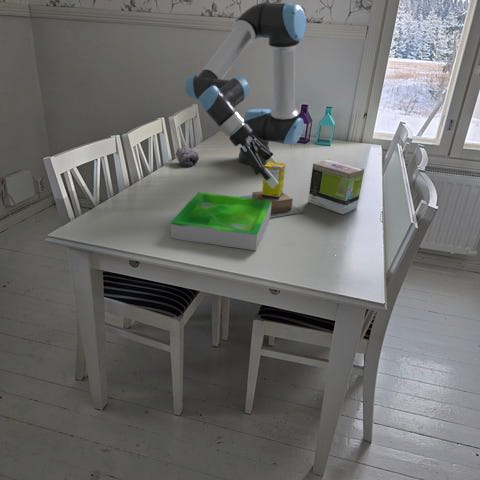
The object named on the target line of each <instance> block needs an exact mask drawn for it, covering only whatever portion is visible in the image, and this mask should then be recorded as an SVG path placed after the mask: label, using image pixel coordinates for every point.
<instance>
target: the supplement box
mask: <svg viewBox="0 0 480 480" xmlns="http://www.w3.org/2000/svg"><path fill="white" fill-rule="evenodd" d="M263 166H264V168H267V170H268V171H269V172H270V173H271V174H272V176H273V177H274V178H275V179H276V180H277V182H278V183H279V184H278V185H277V186H275V187H274V188H273V189H272V188H271V187H270V186H269V185H268V183H267V182H266V181H265V180H264V179H263V178H262V190H261V191H262V197H269V198H276V199H279V198H280V196H281V195H282V192H283V190H284V180H285V170H286V163H285V162H284V163H283V162H277V161H276V162H270V161H269V162H268V163H267V164H266V165H263ZM283 193H284V192H283Z"/></svg>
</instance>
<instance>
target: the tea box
mask: <svg viewBox="0 0 480 480" xmlns="http://www.w3.org/2000/svg"><path fill="white" fill-rule="evenodd" d="M364 174H365V169H364V168H362V167H358V166H354V165H351V164H347V163H344V162H340V161H335V160H332V159H325V160H322V161H321V160H320V161H318V162H315V163H314V162H313V163H312V169H311V175H310V176H311V177H310V183H309V191H308V192H309V193H308V203H310V204H313V205H315V206H319V207H321V208H323V209H327V210H330V211H333V212H335V213H338V214H341V215H345V214H347V213H350V212H352V211H354V210H355V209H357V208H358V204H359V202H360V201H359V199H360V194H361V189H362V184H363V179H364V178H363V177H364Z"/></svg>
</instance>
